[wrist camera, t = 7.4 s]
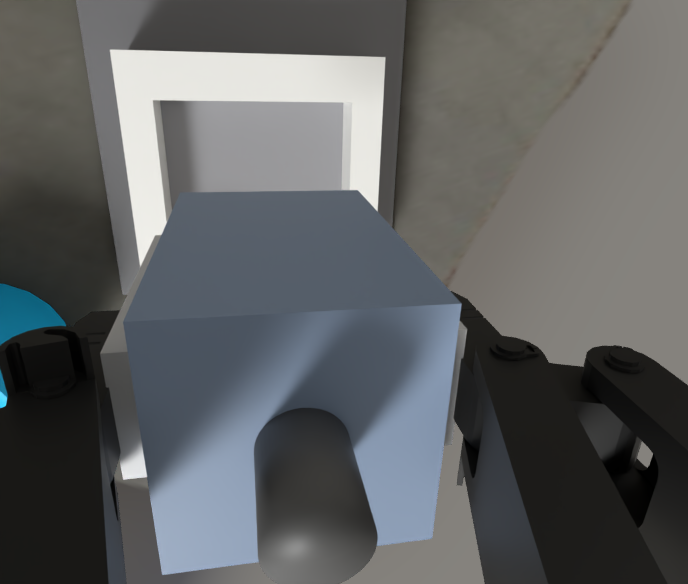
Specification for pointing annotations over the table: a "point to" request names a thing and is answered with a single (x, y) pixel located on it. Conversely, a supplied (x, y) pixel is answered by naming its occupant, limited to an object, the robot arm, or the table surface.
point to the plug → (289, 384)
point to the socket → (240, 103)
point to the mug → (22, 319)
